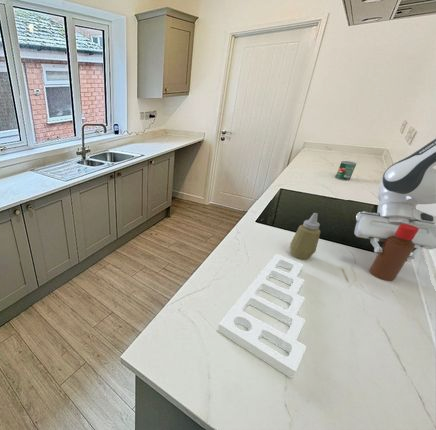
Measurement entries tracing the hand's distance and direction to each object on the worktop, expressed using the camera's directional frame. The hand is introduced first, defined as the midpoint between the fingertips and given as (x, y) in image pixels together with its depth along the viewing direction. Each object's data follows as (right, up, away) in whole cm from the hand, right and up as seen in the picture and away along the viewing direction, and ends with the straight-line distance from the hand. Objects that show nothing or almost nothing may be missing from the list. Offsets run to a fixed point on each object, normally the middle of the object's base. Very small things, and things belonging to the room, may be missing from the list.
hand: (394, 255), depth 84 cm
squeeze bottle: (-19, -3, +16) cm, 25 cm away
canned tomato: (+65, +38, +94) cm, 120 cm away
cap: (0, +6, -3) cm, 7 cm away
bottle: (0, -8, +5) cm, 9 cm away
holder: (-40, -14, -6) cm, 43 cm away
